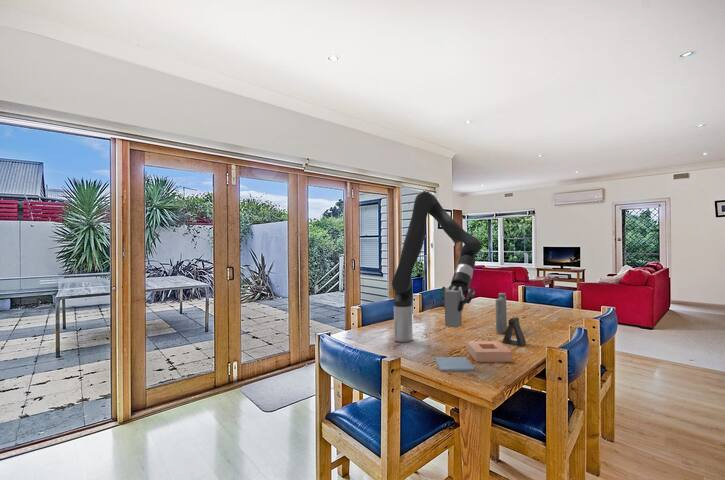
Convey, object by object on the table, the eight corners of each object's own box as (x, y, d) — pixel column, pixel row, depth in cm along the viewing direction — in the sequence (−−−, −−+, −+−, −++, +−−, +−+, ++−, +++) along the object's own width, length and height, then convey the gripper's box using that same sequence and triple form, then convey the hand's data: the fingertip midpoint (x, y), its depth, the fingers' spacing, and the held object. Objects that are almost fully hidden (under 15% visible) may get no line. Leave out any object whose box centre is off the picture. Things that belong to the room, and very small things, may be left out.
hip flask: (501, 326, 194) (500, 290, 194) (508, 327, 192) (507, 291, 192) (495, 333, 181) (494, 295, 181) (503, 334, 179) (503, 295, 179)
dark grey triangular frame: (526, 343, 163) (525, 318, 163) (522, 346, 158) (521, 320, 158) (506, 339, 169) (506, 315, 169) (502, 342, 164) (501, 317, 164)
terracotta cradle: (476, 361, 140) (476, 352, 140) (466, 350, 155) (466, 341, 155) (511, 361, 140) (511, 351, 140) (498, 349, 154) (498, 341, 154)
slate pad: (440, 371, 131) (440, 369, 131) (434, 359, 144) (434, 357, 144) (475, 370, 131) (474, 368, 131) (465, 358, 144) (465, 356, 144)
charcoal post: (445, 326, 138) (444, 291, 138) (450, 323, 142) (449, 289, 142) (457, 327, 135) (456, 292, 135) (461, 324, 139) (460, 290, 139)
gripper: (444, 270, 150) (432, 302, 140) (477, 271, 141) (467, 306, 132) (449, 281, 154) (438, 313, 144) (481, 283, 146) (472, 317, 136)
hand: (452, 309), depth 138 cm, fingers closed on charcoal post, 5 cm apart
